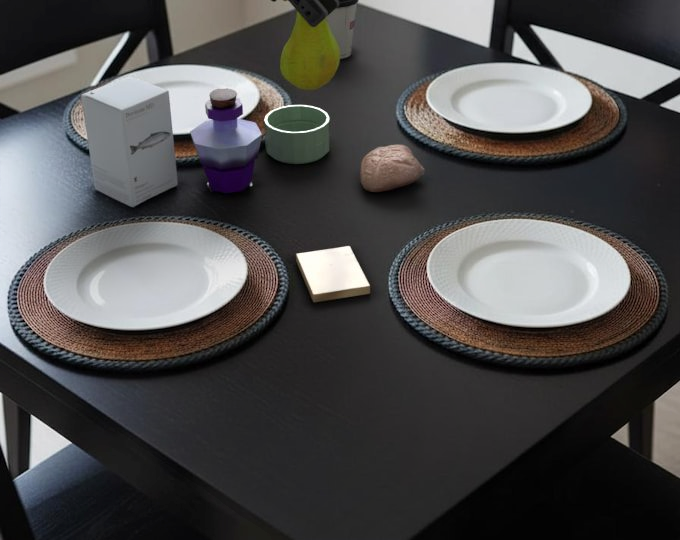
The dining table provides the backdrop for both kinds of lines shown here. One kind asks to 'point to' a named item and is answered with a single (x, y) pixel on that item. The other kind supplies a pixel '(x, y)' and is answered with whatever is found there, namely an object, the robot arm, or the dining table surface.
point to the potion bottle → (227, 144)
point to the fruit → (310, 55)
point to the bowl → (297, 134)
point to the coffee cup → (343, 25)
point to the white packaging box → (130, 140)
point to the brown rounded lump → (389, 168)
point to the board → (332, 274)
